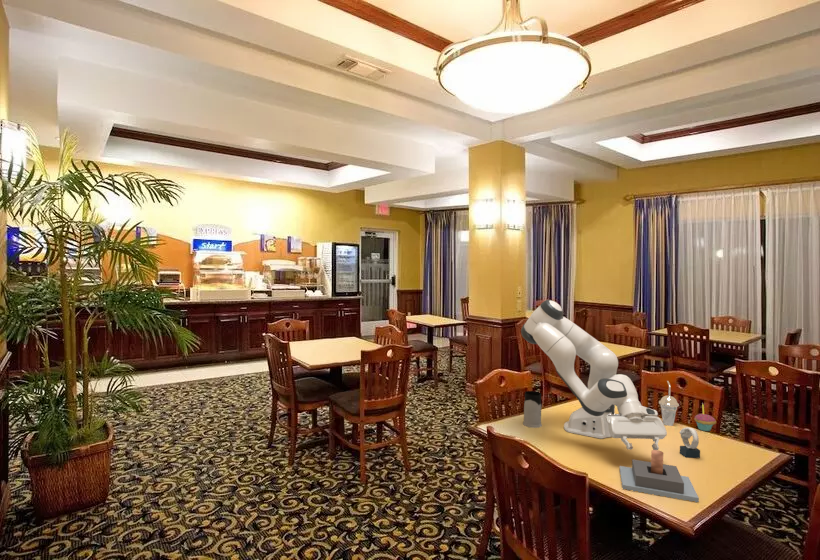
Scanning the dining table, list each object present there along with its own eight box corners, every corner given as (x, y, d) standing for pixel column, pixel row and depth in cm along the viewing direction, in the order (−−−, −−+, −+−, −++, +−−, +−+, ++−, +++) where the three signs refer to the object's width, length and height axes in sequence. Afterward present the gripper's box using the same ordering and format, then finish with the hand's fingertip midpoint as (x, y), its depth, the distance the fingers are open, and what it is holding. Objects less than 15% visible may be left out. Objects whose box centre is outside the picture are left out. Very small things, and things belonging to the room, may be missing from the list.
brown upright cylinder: (649, 480, 156) (650, 452, 155) (652, 477, 158) (652, 449, 158) (661, 484, 153) (662, 454, 153) (663, 480, 156) (664, 451, 156)
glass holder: (520, 425, 214) (521, 393, 213) (529, 417, 226) (530, 387, 225) (538, 429, 209) (539, 396, 209) (547, 420, 221) (547, 390, 221)
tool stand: (622, 489, 153) (622, 474, 152) (619, 469, 167) (619, 456, 167) (698, 502, 144) (699, 487, 144) (688, 481, 159) (688, 467, 159)
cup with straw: (655, 423, 219) (656, 382, 218) (662, 419, 225) (663, 379, 225) (674, 428, 213) (676, 386, 212) (681, 424, 219) (682, 383, 218)
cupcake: (689, 426, 216) (690, 401, 216) (706, 426, 217) (707, 401, 217) (702, 432, 208) (703, 406, 207) (720, 432, 208) (721, 406, 208)
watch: (690, 451, 186) (691, 425, 185) (702, 460, 178) (703, 432, 177) (676, 451, 186) (677, 424, 186) (688, 459, 178) (689, 431, 178)
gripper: (607, 409, 174) (617, 444, 164) (661, 410, 173) (674, 446, 164) (602, 417, 179) (611, 452, 169) (654, 418, 178) (667, 453, 169)
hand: (643, 449), depth 166 cm, fingers open, 8 cm apart
